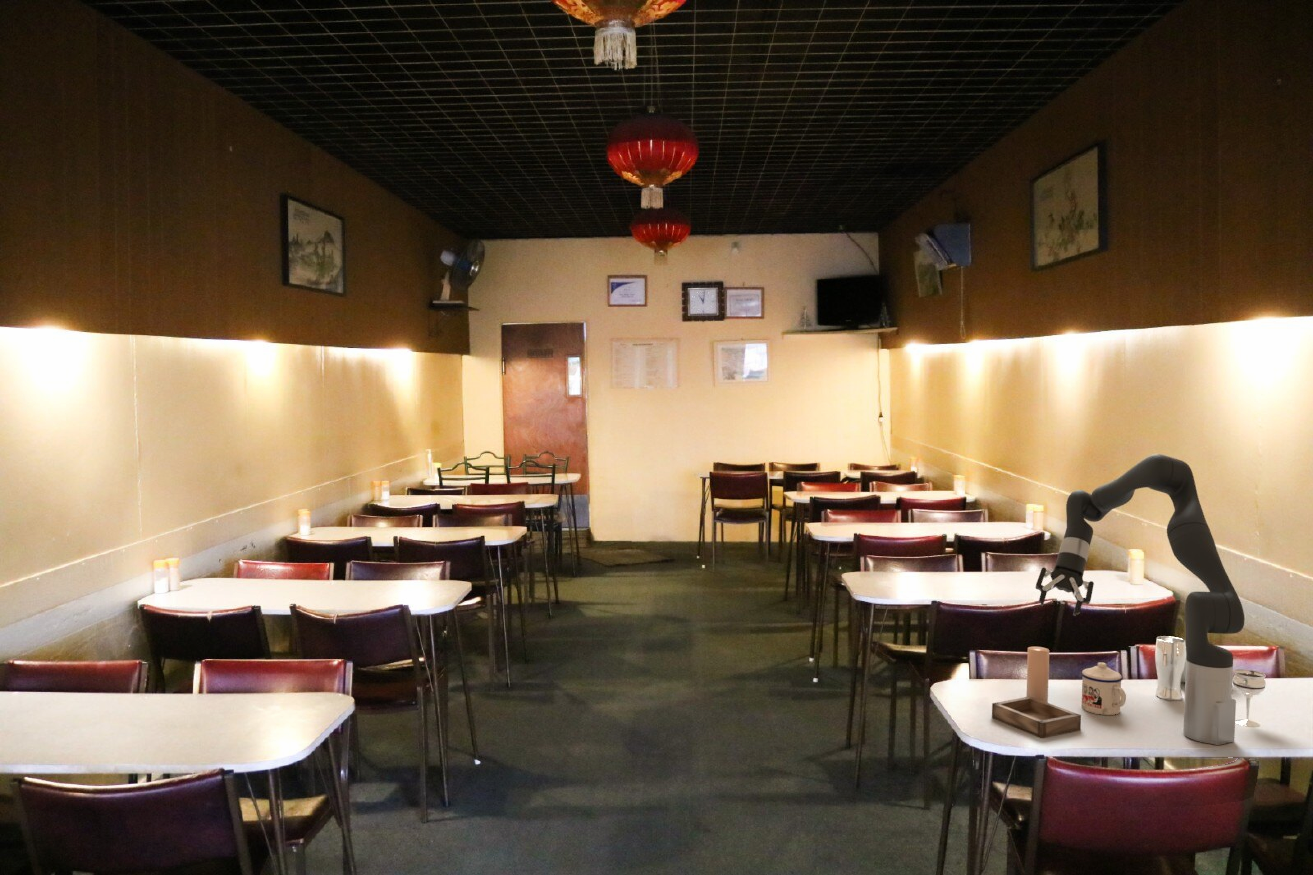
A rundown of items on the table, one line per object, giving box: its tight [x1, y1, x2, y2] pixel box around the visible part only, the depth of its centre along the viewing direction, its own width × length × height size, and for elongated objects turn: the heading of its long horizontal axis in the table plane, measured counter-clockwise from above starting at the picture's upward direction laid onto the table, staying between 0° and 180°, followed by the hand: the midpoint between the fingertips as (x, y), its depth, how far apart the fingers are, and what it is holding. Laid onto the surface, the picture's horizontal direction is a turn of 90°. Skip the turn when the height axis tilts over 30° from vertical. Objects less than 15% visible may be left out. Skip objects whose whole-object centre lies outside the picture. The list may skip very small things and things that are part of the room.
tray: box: [991, 696, 1082, 739], centre depth 227 cm, size 15×12×4 cm
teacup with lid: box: [1081, 661, 1127, 716], centre depth 236 cm, size 12×9×12 cm
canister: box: [1026, 646, 1050, 703], centre depth 241 cm, size 5×5×14 cm
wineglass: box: [1232, 668, 1267, 728], centre depth 228 cm, size 7×7×12 cm
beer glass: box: [1154, 635, 1186, 701], centre depth 248 cm, size 7×7×15 cm
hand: (1058, 609), depth 264 cm, fingers open, 8 cm apart
